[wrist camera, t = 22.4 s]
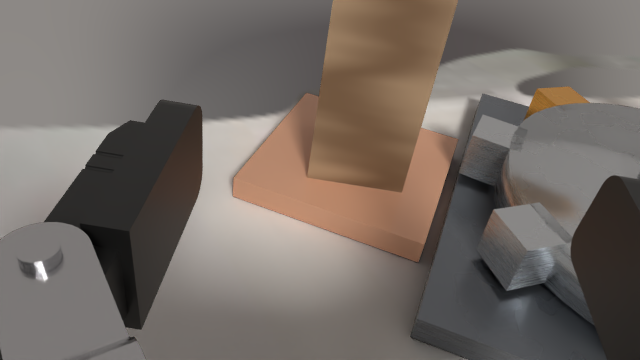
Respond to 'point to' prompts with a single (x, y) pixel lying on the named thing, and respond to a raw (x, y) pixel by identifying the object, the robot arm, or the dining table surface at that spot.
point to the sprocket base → (492, 285)
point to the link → (376, 88)
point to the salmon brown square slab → (346, 187)
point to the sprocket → (548, 184)
